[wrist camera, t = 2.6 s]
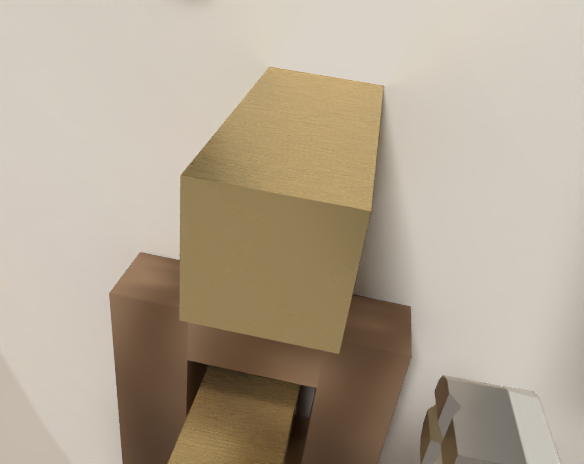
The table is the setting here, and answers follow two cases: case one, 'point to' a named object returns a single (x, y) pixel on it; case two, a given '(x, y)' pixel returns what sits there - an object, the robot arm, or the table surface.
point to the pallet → (251, 370)
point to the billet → (281, 210)
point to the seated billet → (237, 420)
